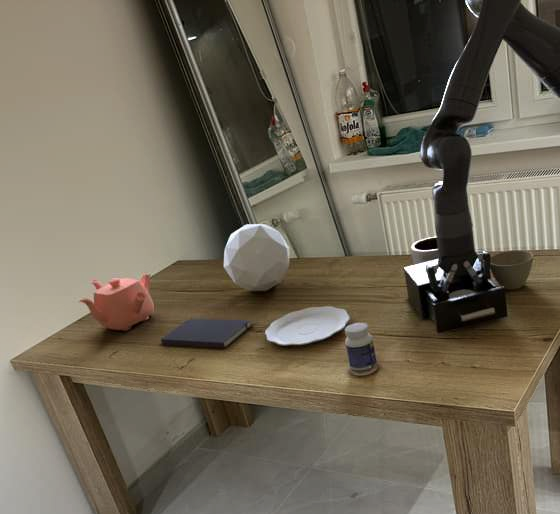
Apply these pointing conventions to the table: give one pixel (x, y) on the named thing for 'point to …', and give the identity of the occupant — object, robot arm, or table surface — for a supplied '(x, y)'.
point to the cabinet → (425, 283)
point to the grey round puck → (460, 293)
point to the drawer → (465, 305)
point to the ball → (256, 257)
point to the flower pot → (511, 268)
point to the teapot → (121, 302)
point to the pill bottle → (360, 349)
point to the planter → (425, 250)
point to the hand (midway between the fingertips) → (462, 302)
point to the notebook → (206, 332)
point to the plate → (307, 325)
